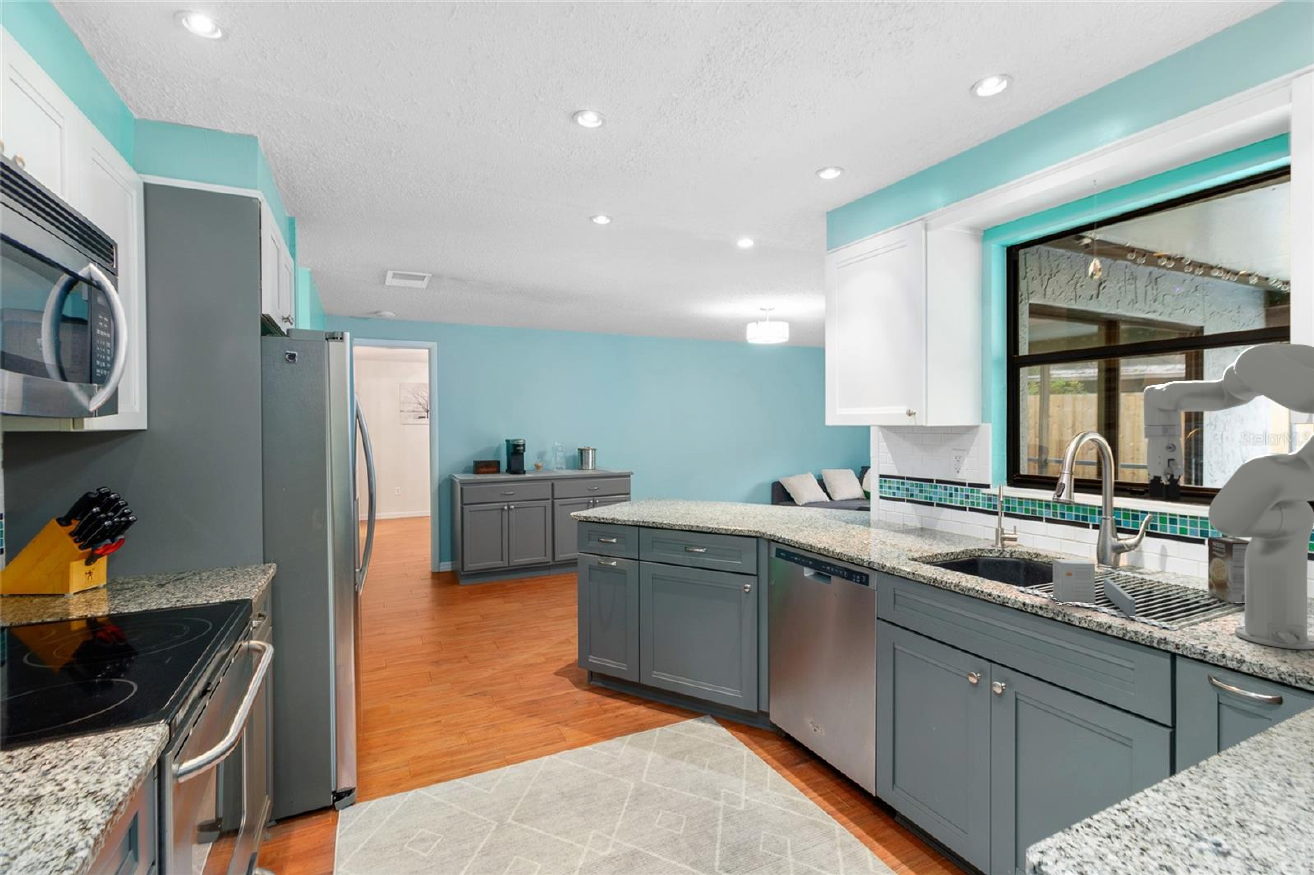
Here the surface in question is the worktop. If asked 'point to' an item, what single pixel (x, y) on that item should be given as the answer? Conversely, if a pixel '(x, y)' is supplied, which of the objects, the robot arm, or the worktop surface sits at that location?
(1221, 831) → the worktop surface
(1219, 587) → the coffee box
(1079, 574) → the small box
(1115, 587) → the low wall
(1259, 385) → the robot arm
